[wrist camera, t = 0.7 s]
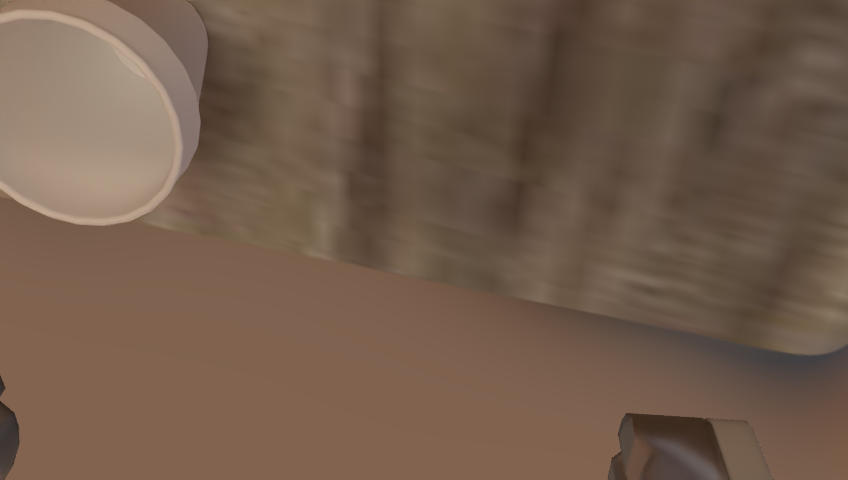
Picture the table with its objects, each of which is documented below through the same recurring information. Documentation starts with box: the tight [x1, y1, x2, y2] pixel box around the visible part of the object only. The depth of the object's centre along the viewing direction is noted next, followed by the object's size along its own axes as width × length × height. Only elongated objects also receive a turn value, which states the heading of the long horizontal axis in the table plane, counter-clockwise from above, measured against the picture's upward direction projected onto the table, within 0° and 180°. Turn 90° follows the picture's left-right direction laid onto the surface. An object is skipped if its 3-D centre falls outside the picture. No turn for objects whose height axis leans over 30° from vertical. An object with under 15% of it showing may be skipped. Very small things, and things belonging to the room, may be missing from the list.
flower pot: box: [0, 0, 208, 226], centre depth 46 cm, size 12×12×14 cm
